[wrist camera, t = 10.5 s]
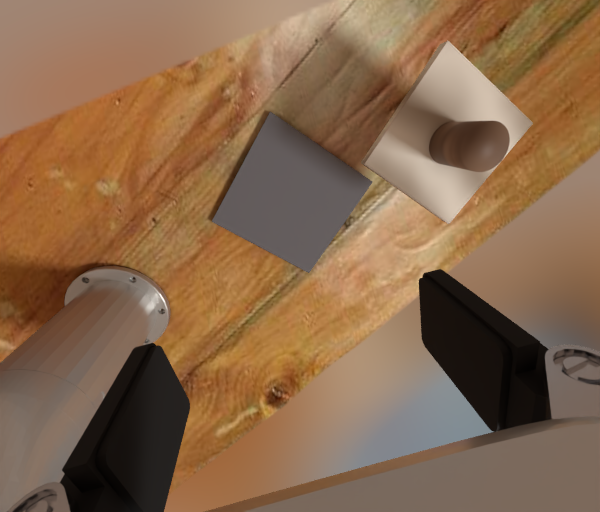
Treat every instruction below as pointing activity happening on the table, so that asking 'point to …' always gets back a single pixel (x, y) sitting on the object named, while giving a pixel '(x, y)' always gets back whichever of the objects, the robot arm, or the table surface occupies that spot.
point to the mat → (290, 195)
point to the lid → (446, 135)
